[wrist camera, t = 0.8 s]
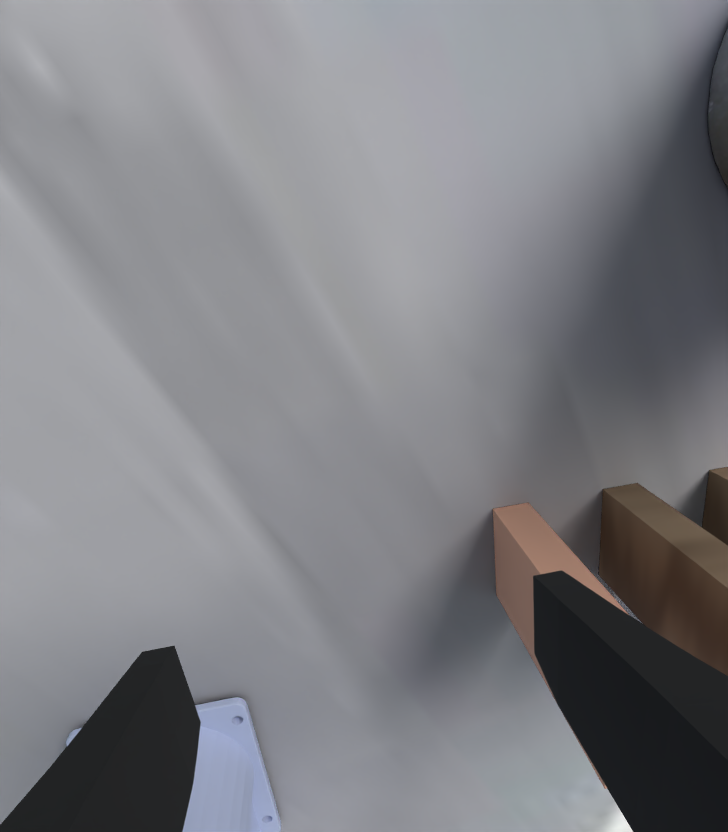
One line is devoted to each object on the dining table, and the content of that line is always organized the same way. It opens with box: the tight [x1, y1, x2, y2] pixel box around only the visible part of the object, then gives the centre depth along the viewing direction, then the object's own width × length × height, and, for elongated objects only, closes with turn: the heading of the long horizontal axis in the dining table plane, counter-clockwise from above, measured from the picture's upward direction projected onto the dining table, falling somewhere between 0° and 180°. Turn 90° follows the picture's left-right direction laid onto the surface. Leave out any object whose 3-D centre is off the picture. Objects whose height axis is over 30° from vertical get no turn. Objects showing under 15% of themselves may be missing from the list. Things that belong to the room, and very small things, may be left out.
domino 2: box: [599, 483, 728, 676], centre depth 18 cm, size 5×2×8 cm, turn 8°
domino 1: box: [493, 503, 629, 789], centre depth 17 cm, size 5×2×8 cm, turn 8°
